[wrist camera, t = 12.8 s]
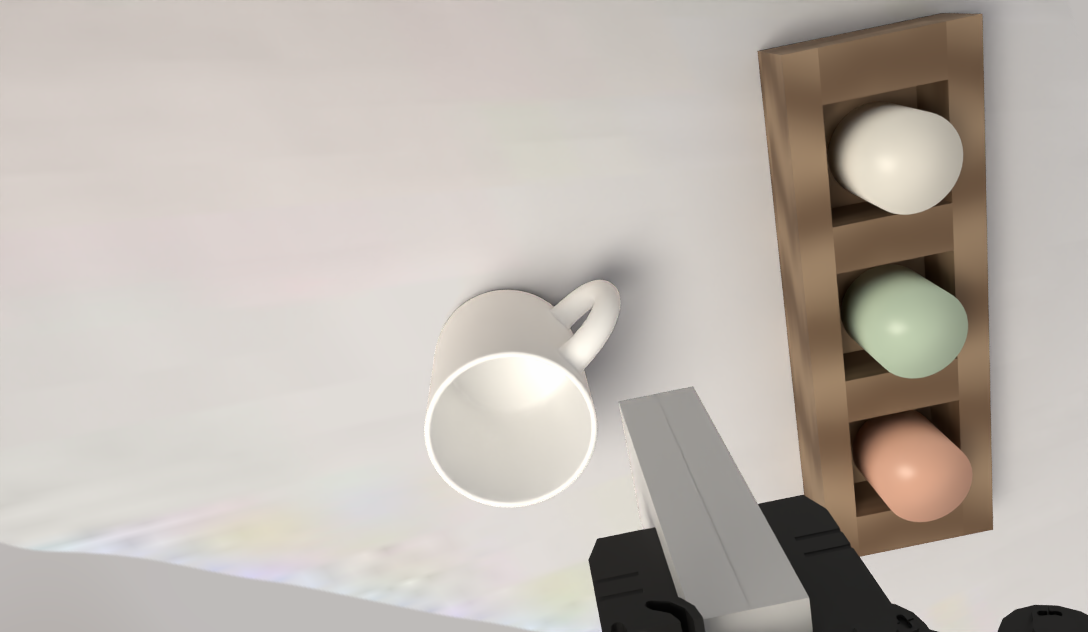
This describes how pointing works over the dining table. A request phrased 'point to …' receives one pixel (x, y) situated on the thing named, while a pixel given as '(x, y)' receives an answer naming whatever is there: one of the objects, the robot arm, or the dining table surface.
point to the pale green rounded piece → (904, 321)
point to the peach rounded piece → (912, 465)
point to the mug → (517, 393)
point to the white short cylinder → (896, 156)
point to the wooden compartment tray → (879, 261)
